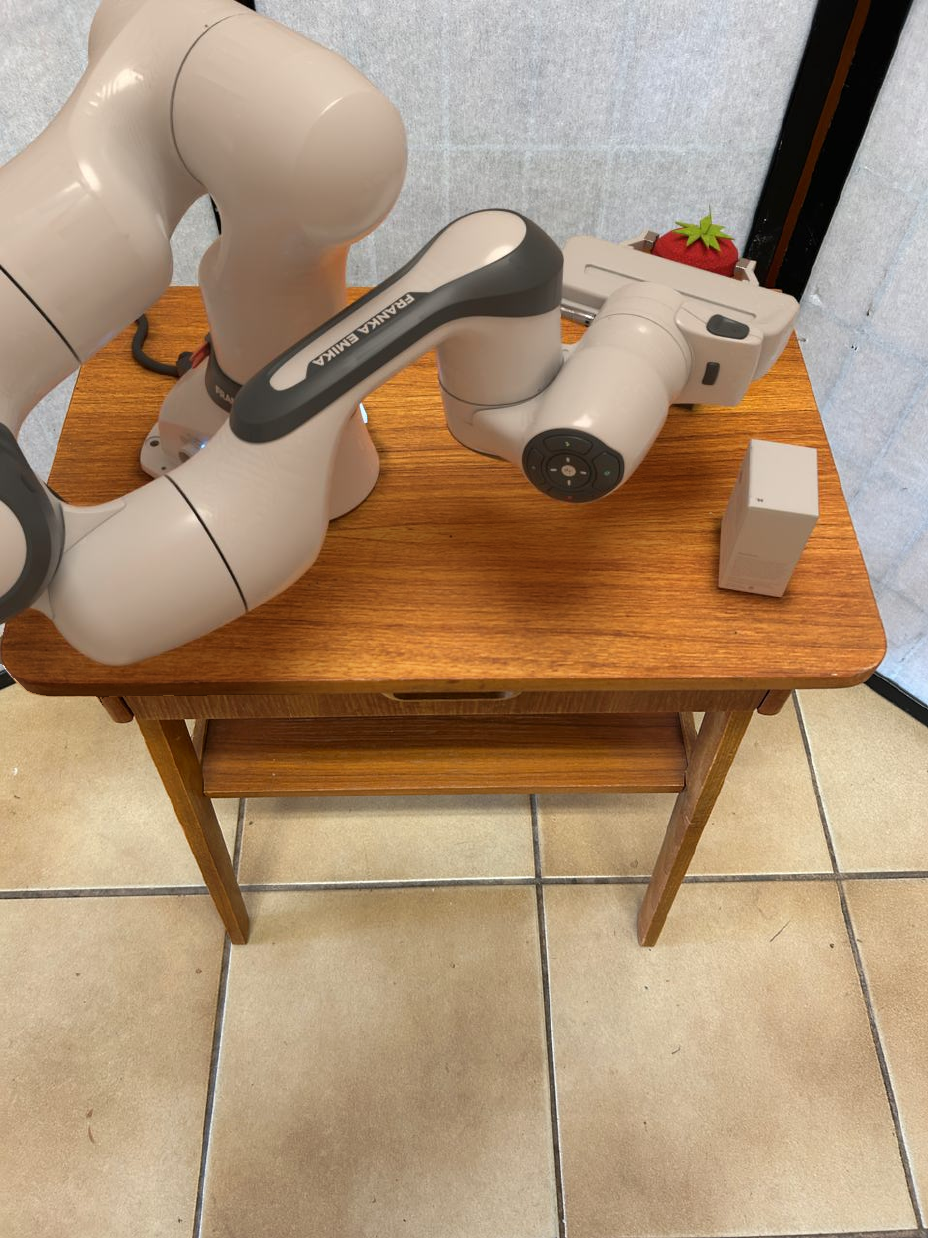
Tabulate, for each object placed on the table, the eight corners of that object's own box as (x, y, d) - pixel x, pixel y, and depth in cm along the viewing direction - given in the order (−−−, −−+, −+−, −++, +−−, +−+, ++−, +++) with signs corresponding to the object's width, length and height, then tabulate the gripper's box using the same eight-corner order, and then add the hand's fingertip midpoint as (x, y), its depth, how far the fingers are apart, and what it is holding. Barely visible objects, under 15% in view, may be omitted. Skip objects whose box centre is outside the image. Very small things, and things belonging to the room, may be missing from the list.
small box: (781, 600, 82) (821, 518, 73) (715, 588, 82) (747, 506, 74) (782, 531, 86) (819, 446, 78) (720, 520, 87) (750, 435, 78)
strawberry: (640, 288, 89) (661, 185, 80) (721, 296, 88) (750, 193, 80) (639, 327, 85) (661, 225, 77) (724, 336, 85) (754, 233, 77)
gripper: (521, 336, 80) (582, 251, 88) (757, 413, 75) (800, 316, 83) (527, 270, 75) (592, 186, 83) (780, 348, 70) (825, 251, 78)
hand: (698, 252), depth 83 cm, fingers closed on strawberry, 7 cm apart
